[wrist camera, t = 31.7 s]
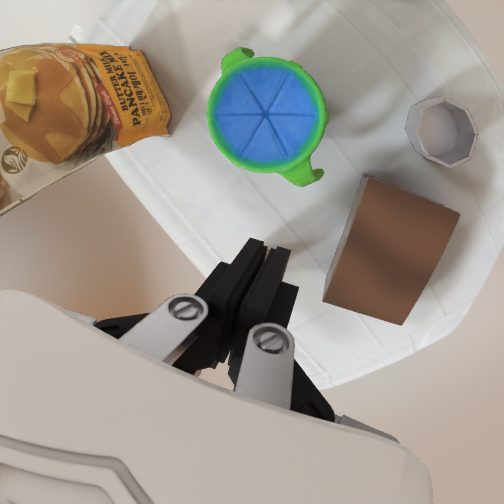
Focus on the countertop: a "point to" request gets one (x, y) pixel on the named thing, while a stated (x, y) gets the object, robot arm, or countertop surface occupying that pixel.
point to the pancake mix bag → (70, 111)
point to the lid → (389, 252)
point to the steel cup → (442, 131)
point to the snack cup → (267, 116)
